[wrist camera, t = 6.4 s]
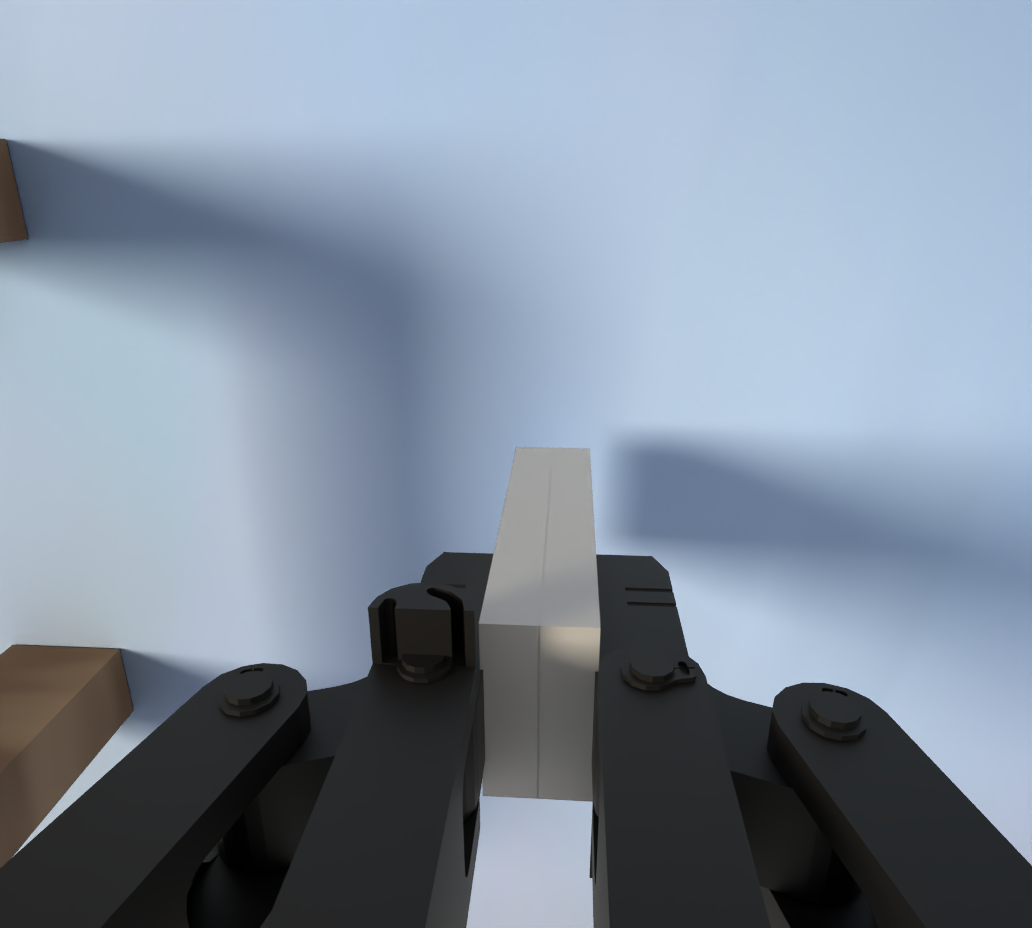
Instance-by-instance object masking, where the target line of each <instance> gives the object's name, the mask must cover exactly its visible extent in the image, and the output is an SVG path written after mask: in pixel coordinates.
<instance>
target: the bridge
mask: <svg viewBox="0 0 1032 928" xmlns="http://www.w3.org/2000/svg"><path fill="white" fill-rule="evenodd" d="M26 239H28V236H27V231H26V227H25V222H24V218H23V213H22V209H21V204H20V200H19V195H18V191H17V186H16V182H15V177H14V173H13V169H12V164H11V160H10V155H9V151H8V146H7V142H6V139H0V242H8V241H17V240H26ZM132 712H133V707H132V702H131V698H130V693H129V689H128V684H127V680H126V675H125V671H124V666H123V662H122V657H121V653H120V649H103V648H78V647H53V646H28V645H12V646H11V647H9V648H8V649H7V650H6V651H5V652H3V653H2V654H1V655H0V868H1V867H2V866H3V865H5V864H6V863H7V862H8V861H9V860H10V859H11V858H12V857H13V856H14V854H15V853H16V852H17V851H18V850H19V848H20V847H21V846H22V845H23V844H24V842H25V841H26V840H27V839H28V837H29V836H30V835H31V834H32V833H33V831H34V830H35V829H36V828H37V827H38V825H39V824H40V823H41V822H42V821H43V819H44V818H45V817H46V816H47V815H48V813H49V812H50V811H51V810H52V808H53V807H54V806H55V805H56V804H57V802H58V801H59V800H60V799H61V798H62V796H63V795H64V794H65V793H66V792H67V790H68V789H69V788H70V787H71V786H72V784H73V783H74V782H75V781H76V779H77V778H78V777H79V776H80V775H81V773H82V772H83V771H84V770H85V769H86V767H87V766H88V765H89V764H90V763H91V761H92V760H93V759H94V758H95V756H96V755H97V754H98V753H99V752H100V750H101V749H102V748H103V747H104V746H105V744H106V743H107V742H108V741H109V740H110V738H111V737H112V736H113V735H114V734H115V732H116V731H117V730H118V729H119V727H120V726H121V725H122V724H123V723H124V721H125V720H126V719H127V718H128V717H129V715H130V714H131V713H132Z"/></svg>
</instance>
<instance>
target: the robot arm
mask: <svg viewBox="0 0 1032 928" xmlns="http://www.w3.org/2000/svg"><path fill="white" fill-rule="evenodd" d="M368 612H369V624H370V636H371V648H372V660H373V664H372V667H371V669H370V672H369V674H368V677H366V678H363V679H361V680H358V681H356V682H353V683H349V684H345V685H341V686H336V687H331V688H325V689H319V690H313V691H307V684H306V680H305V679H304V677H303V676H302V675H301V674H300V673H299V672H298V671H297V670H295V669H292V668H290V667H287V666H285V665H281V664H266V663H262V664H254V665H248V666H243V667H240V668H237V669H235V670H232V671H229V672H227V673H224V674H221V675H220V676H218V677H217V678H215V679H214V680H213V681H211V682H210V683H208V684H207V685H205V686H204V687H203V688H202V689H200V690H199V691H198V692H197V693H196V694H195V695H194V696H193V697H191V698H190V699H189V700H188V701H187V702H186V703H185V704H184V705H183V706H181V707H180V708H179V709H178V710H177V711H176V712H175V713H174V714H172V715H171V716H170V717H169V718H168V719H167V720H166V721H165V722H164V723H162V724H161V725H160V726H159V727H158V728H157V729H156V730H155V731H153V732H152V733H151V734H150V735H149V736H148V737H147V738H146V739H144V740H143V741H142V742H141V743H140V744H139V745H138V746H137V747H136V748H134V749H133V750H132V751H131V752H130V753H129V754H128V755H127V756H125V757H124V758H123V759H122V760H121V761H120V762H119V763H118V764H116V765H115V766H114V767H113V768H112V769H111V770H110V771H109V772H108V773H106V774H105V775H104V776H103V777H102V778H101V779H100V780H99V781H97V782H96V783H95V784H94V785H93V786H92V787H91V788H90V789H89V790H87V791H86V792H85V793H84V794H83V795H82V796H81V797H80V798H78V799H77V800H76V801H75V802H74V803H73V804H72V805H71V806H69V807H68V808H67V809H66V810H65V811H64V812H63V813H62V814H61V815H59V816H58V817H57V818H56V819H55V820H54V821H53V822H52V823H50V824H49V825H48V826H47V827H46V828H45V829H44V830H43V831H41V832H40V833H39V834H38V835H37V836H36V837H35V838H34V839H33V840H31V841H30V842H29V843H28V844H27V845H26V846H25V847H24V848H22V849H21V850H20V851H19V852H18V853H17V854H16V855H15V856H14V857H12V858H11V859H10V860H9V861H8V862H7V863H6V864H5V865H3V866H2V867H1V868H0V928H466V925H467V918H468V911H469V903H470V896H471V889H472V882H473V875H474V868H475V861H476V854H477V847H478V839H479V832H480V803H479V797H480V790H481V784H482V777H483V796H497V797H516V798H536V799H555V800H574V801H593V809H592V833H591V857H590V878H593V918H594V928H1032V866H1031V864H1030V863H1029V862H1028V861H1027V860H1026V859H1025V858H1024V857H1023V856H1022V855H1021V854H1020V853H1019V852H1018V851H1017V850H1016V849H1015V848H1014V847H1013V845H1012V844H1011V843H1010V842H1009V841H1008V840H1007V839H1006V838H1005V837H1004V836H1003V835H1002V834H1001V833H1000V832H999V831H998V830H997V829H996V828H995V827H994V825H993V824H992V823H991V822H990V821H989V820H988V819H987V818H986V817H985V816H984V815H983V814H982V813H981V812H980V811H979V810H978V809H977V808H976V806H975V805H974V804H973V803H972V802H971V801H970V800H969V799H968V798H967V797H966V796H965V795H964V794H963V793H962V792H961V791H960V790H959V789H958V787H957V786H956V785H955V784H954V783H953V782H952V781H951V780H950V779H949V778H948V777H947V776H946V775H945V774H944V773H943V772H942V771H941V770H940V768H939V767H938V766H937V765H936V764H935V763H934V762H933V761H932V760H931V759H930V758H929V757H928V756H927V755H926V754H925V753H924V752H923V751H922V749H921V748H920V747H919V746H918V745H917V744H916V743H915V742H914V741H913V740H912V739H911V738H910V737H909V736H908V735H907V734H906V733H905V732H904V731H903V729H902V728H901V727H900V726H899V725H898V724H897V723H896V722H895V721H894V720H893V719H892V718H891V717H890V716H889V715H888V714H887V713H886V712H885V711H884V710H883V709H881V708H880V707H879V706H878V705H876V704H875V703H874V702H873V701H871V700H870V699H869V698H867V697H864V696H862V695H860V694H858V693H856V692H854V691H852V690H849V689H847V688H843V687H839V686H834V685H830V684H826V683H800V684H797V685H793V686H790V687H786V688H785V689H783V690H782V691H781V692H780V693H779V694H778V695H777V696H775V698H774V703H773V708H771V707H767V706H763V705H759V704H755V703H751V702H748V701H744V700H741V699H738V698H735V697H732V696H729V695H726V694H724V693H722V692H721V691H719V690H717V689H715V688H713V687H712V686H710V685H709V684H707V680H706V676H705V675H704V673H703V671H702V669H701V668H700V666H699V664H698V663H696V662H695V661H694V660H693V659H691V658H690V657H689V656H688V652H687V647H686V643H685V639H684V635H683V631H682V627H681V623H680V618H679V614H678V610H677V607H676V602H675V598H674V593H673V592H672V585H671V581H670V577H669V573H668V571H667V570H666V569H665V568H664V567H663V566H662V565H661V564H660V563H659V562H658V561H657V560H656V559H654V558H653V557H652V556H626V555H596V544H595V528H594V511H593V494H592V477H591V460H590V449H579V448H530V447H516V451H515V456H514V461H513V465H512V470H511V475H510V479H509V484H508V489H507V493H506V498H505V503H504V508H503V512H502V517H501V522H500V526H499V531H498V536H497V540H496V545H495V550H494V554H485V553H452V552H444V553H443V554H441V555H440V556H439V557H438V558H436V559H435V560H434V561H433V562H432V563H430V564H429V565H428V566H427V567H426V570H425V572H424V575H423V577H422V580H421V583H413V584H408V585H404V586H400V587H396V588H393V589H391V590H389V591H387V592H385V593H383V594H381V595H380V596H378V597H377V598H376V599H375V600H374V601H373V602H372V603H371V605H370V606H369V607H368Z"/></svg>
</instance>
